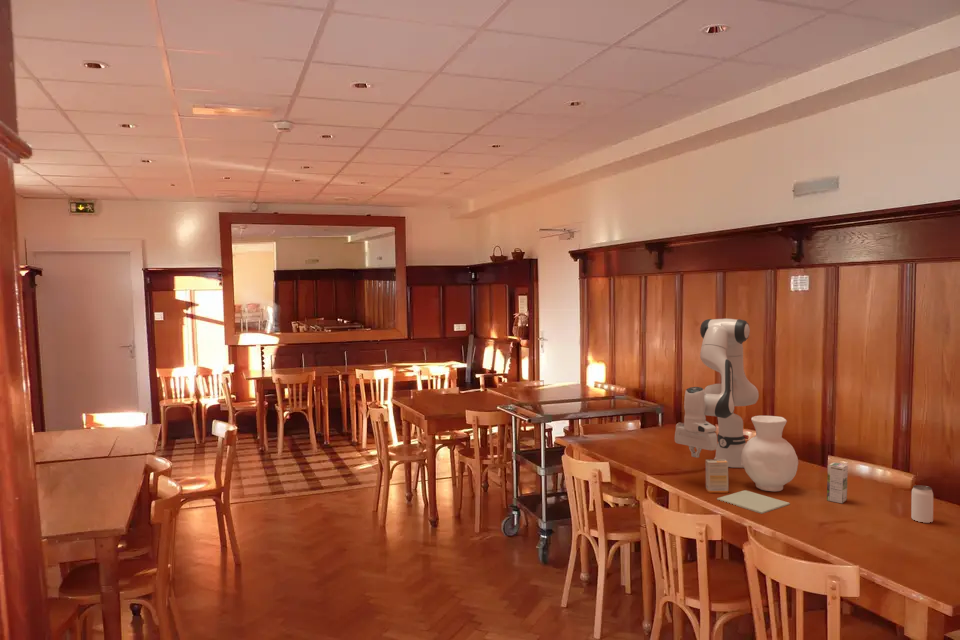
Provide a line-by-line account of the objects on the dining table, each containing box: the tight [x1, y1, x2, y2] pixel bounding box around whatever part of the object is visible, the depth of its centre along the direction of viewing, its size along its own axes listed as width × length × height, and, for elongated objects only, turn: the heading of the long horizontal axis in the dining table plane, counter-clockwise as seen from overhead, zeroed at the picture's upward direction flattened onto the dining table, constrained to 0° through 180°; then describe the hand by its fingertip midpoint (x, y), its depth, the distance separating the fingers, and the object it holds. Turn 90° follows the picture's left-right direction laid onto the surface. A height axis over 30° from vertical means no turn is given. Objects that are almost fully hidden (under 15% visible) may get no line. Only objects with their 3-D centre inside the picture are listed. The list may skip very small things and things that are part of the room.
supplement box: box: [705, 458, 729, 494], centre depth 271 cm, size 8×5×13 cm, turn 84°
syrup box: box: [826, 462, 849, 504], centre depth 256 cm, size 6×6×14 cm
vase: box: [741, 415, 799, 492], centre depth 273 cm, size 19×21×30 cm
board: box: [716, 489, 791, 514], centre depth 257 cm, size 18×20×1 cm
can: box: [910, 484, 934, 524], centre depth 233 cm, size 6×6×12 cm
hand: (695, 456), depth 280 cm, fingers closed
